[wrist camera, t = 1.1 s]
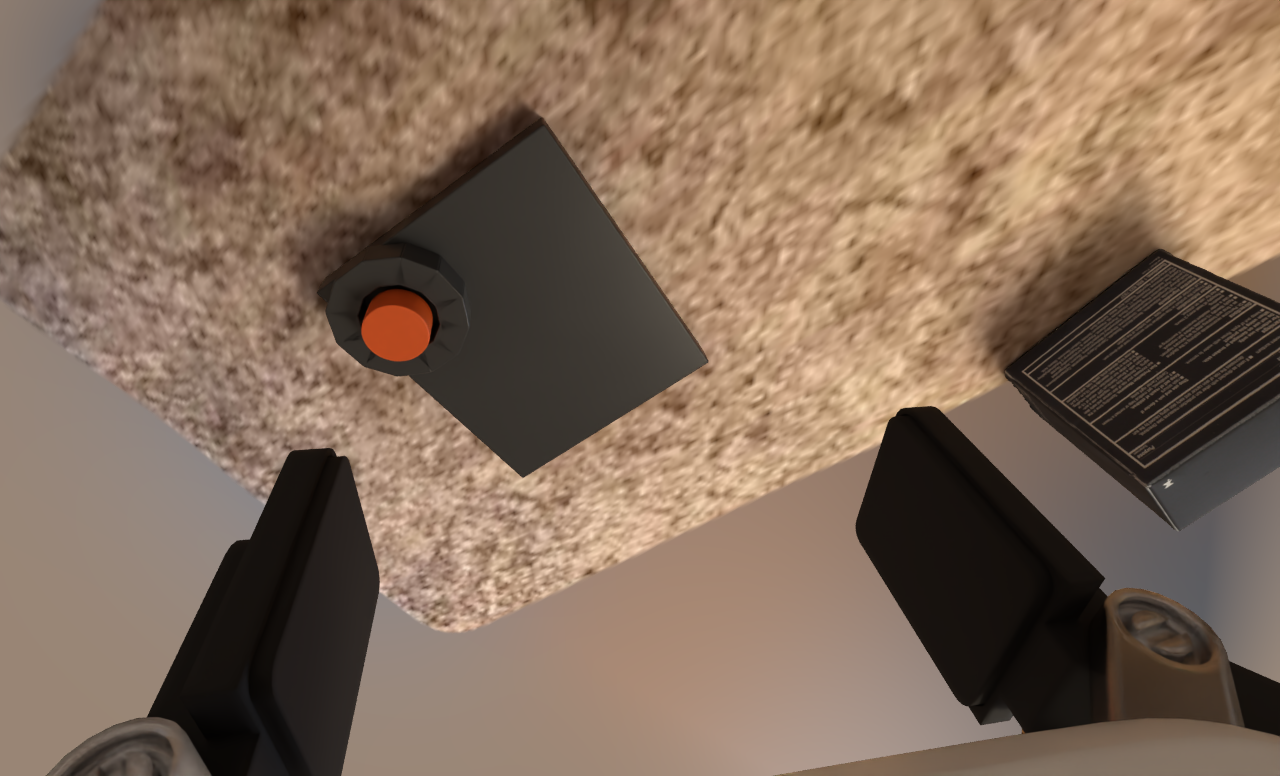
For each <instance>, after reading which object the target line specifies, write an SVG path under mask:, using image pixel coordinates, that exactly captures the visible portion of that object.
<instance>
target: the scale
mask: <svg viewBox="0 0 1280 776" xmlns="http://www.w3.org/2000/svg"><path fill="white" fill-rule="evenodd" d="M390 289H404V290H408V291H411V292H413V293H415V294H417V295H419V296H420V297H421V298H422V299H424V300H425V302H426V303H427V304H428V305H429V307H430V309H431V312H432V316H433V323H432V329H431V334H430V340H429V343H428V346H427V348H426V349H425V350H424V351H423V353H421V354H420V355H419V356H417V357H416V358H413V359H411V360H407V361H391V360H387V359H384V358H382V357H379V356H378V355H376V354H375V353H373V352H372V351H371V350H370V349H369V348H368V347H367V345H366V344H365V342H364V340H363V338H362V334H361V326H362V322H363V320H364V317H365V314H366V312H367V309H368V306H369V304H370V302H371V300H372V299H373V298H374V297H375V296H376V295H378V294H379V293H381V292H383V291H386V290H390ZM317 293H318V295H319V296H321V297H322V298H323V299H324V300H325V301H326V302H327V303H328V304H327V308H326V315H327V318H328V321H329V324H330V326H331V329H332V332H333V335H334V337H335V340H336V343H337V344H338V345H339V346H340V347H342V348H343V349H344V350H345V351H346V352H347V353H349V354H350V355H351V356H352V357H353V358H354V359H356V360H357V361H358V362H359V363H360V364H361V365H362V366H364V367H367V368H370V369H374V370H377V371H380V372H384V373H387V374H391V375H394V376H407V375H409V376H410V377H411V378H412V379H413V380H414V381H415V382H416V383H418V384H419V385H420V386H421V387H422V388H423V389H424V390H425V391H426V392H428V393H429V394H430V395H431V396H432V397H433V398H434V399H435V400H437V401H438V402H439V403H440V404H441V405H442V406H443V407H444V408H445V409H447V410H448V411H449V412H450V413H451V414H452V415H453V416H454V417H455V418H457V419H458V420H459V421H460V422H461V423H462V424H463V425H464V426H466V427H467V428H468V429H469V430H470V431H471V432H472V433H473V434H474V435H476V436H477V437H478V438H479V439H480V440H481V441H482V442H483V443H484V444H486V445H487V446H488V447H489V448H490V449H491V450H492V451H493V452H495V453H496V454H497V455H498V456H499V457H500V458H501V459H502V460H503V461H505V462H506V463H507V464H508V465H509V466H510V467H511V468H512V469H513V470H515V471H516V472H517V473H518V474H519V475H520V476H521V477H523V478H524V477H525V476H527V475H529V474H530V473H532V472H533V471H535V470H537V469H538V468H540V467H541V466H543V465H545V464H546V463H548V462H549V461H551V460H553V459H554V458H556V457H558V456H559V455H561V454H562V453H564V452H566V451H567V450H569V449H570V448H572V447H574V446H575V445H577V444H578V443H580V442H582V441H583V440H585V439H586V438H588V437H590V436H591V435H593V434H594V433H596V432H598V431H599V430H601V429H602V428H604V427H606V426H607V425H609V424H610V423H612V422H614V421H615V420H617V419H618V418H620V417H622V416H623V415H625V414H626V413H628V412H630V411H631V410H633V409H634V408H636V407H638V406H639V405H641V404H642V403H644V402H646V401H647V400H649V399H650V398H652V397H654V396H655V395H657V394H658V393H660V392H662V391H663V390H665V389H666V388H668V387H670V386H671V385H673V384H674V383H676V382H678V381H679V380H681V379H682V378H684V377H686V376H687V375H689V374H690V373H692V372H694V371H695V370H697V369H698V368H700V367H702V366H703V365H705V364H706V363H708V359H707V357H706V355H705V353H704V351H703V349H702V348H701V346H700V345H699V343H698V342H697V340H696V339H695V338H694V336H693V335H692V333H691V332H690V330H689V329H688V327H687V326H686V325H685V323H684V322H683V320H682V319H681V317H680V316H679V314H678V313H677V311H676V310H675V309H674V307H673V306H672V304H671V303H670V301H669V300H668V298H667V297H666V295H665V294H664V293H663V291H662V290H661V288H660V287H659V285H658V284H657V282H656V281H655V280H654V278H653V277H652V275H651V274H650V272H649V271H648V269H647V268H646V266H645V265H644V264H643V262H642V261H641V259H640V258H639V256H638V255H637V253H636V252H635V251H634V249H633V248H632V246H631V245H630V243H629V242H628V240H627V239H626V237H625V236H624V235H623V233H622V232H621V230H620V229H619V227H618V226H617V224H616V223H615V221H614V220H613V219H612V217H611V216H610V214H609V213H608V211H607V210H606V208H605V207H604V206H603V204H602V203H601V201H600V200H599V198H598V197H597V195H596V194H595V192H594V191H593V190H592V188H591V187H590V185H589V184H588V182H587V181H586V179H585V178H584V176H583V175H582V174H581V172H580V171H579V169H578V168H577V166H576V165H575V163H574V162H573V161H572V159H571V158H570V156H569V155H568V153H567V152H566V150H565V149H564V147H563V146H562V145H561V143H560V142H559V140H558V139H557V137H556V136H555V134H554V133H553V131H552V130H551V129H550V127H549V126H548V124H547V123H546V121H545V120H544V119H543V118H540V119H539V120H537V121H536V122H534V123H533V124H532V125H530V126H529V127H528V128H526V129H525V130H524V131H522V132H521V133H520V134H518V135H517V136H516V137H514V138H513V139H512V140H510V141H509V142H508V143H506V144H505V145H504V146H502V147H501V148H500V149H498V150H497V151H496V152H494V153H493V154H492V155H490V156H489V157H488V158H486V159H485V160H483V161H482V162H481V163H479V164H478V165H477V166H475V167H474V168H473V169H471V170H470V171H469V172H467V173H466V174H465V175H463V176H462V177H461V178H459V179H458V180H457V181H455V182H454V183H453V184H451V185H450V186H449V187H447V188H446V189H445V190H443V191H442V192H441V193H439V194H438V195H437V196H435V197H434V198H432V199H431V200H430V201H428V202H427V203H426V204H424V205H423V206H422V207H420V208H419V209H418V210H416V211H415V212H414V213H412V214H411V215H410V216H408V217H407V218H406V219H404V220H403V221H402V222H400V223H399V224H398V225H396V226H395V227H394V228H392V229H391V230H390V231H388V232H387V233H386V234H384V235H383V236H381V237H380V238H379V239H377V240H376V241H375V242H373V243H372V244H371V245H369V246H368V247H367V248H365V249H364V250H363V251H361V252H360V253H359V254H357V255H356V256H355V257H353V258H352V259H351V260H349V261H348V262H347V263H345V264H344V265H343V266H341V267H340V268H339V269H337V270H336V271H334V272H333V273H332V274H330V275H329V276H328V277H326V278H325V279H324V280H323V282H322V284H321V286H320V288H319V290H318V292H317Z"/></svg>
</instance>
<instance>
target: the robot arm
mask: <svg viewBox="0 0 1280 776" xmlns="http://www.w3.org/2000/svg"><path fill="white" fill-rule="evenodd" d="M856 534H857V537H858V539H859V542H860V543H861V545H862V547H863V548H864V550H865V551H866V553H867V555H868V556H869V558H870V560H871V561H872V563H873V564H874V566H875V568H876V569H877V571H878V573H879V574H880V576H881V577H882V579H883V581H884V582H885V584H886V585H887V587H888V589H889V590H890V592H891V594H892V595H893V597H894V598H895V600H896V602H897V603H898V605H899V607H900V608H901V610H902V611H903V613H904V614H905V616H906V618H907V619H908V621H909V623H910V624H911V626H912V628H913V629H914V631H915V632H916V634H917V636H918V637H919V639H920V640H921V642H922V644H923V645H924V647H925V649H926V650H927V652H928V653H929V655H930V657H931V658H932V660H933V662H934V663H935V665H936V666H937V668H938V670H939V671H940V673H941V675H942V676H943V678H944V679H945V681H946V683H947V684H948V686H949V688H950V689H951V691H952V692H953V694H954V696H955V697H956V698H957V700H958V701H959V702H960V703H961V704H963V705H965V706H969V708H970V710H971V711H972V713H973V714H974V716H975V717H976V719H977V721H978V722H979V724H980V725H984V724H991V723H996V722H1003V721H1009V720H1010V719H1011V718H1012V716H1014V717H1015V718H1016V720H1017V721H1018V723H1019V724H1020V726H1021V727H1022V734H1019V735H1013V736H1006V737H1000V738H994V739H989V740H982V741H976V742H970V743H964V744H958V745H952V746H946V747H941V748H935V749H928V750H923V751H916V752H911V753H904V754H898V755H892V756H887V757H880V758H874V759H868V760H862V761H856V762H851V763H845V764H839V765H833V766H827V767H822V768H816V769H810V770H804V771H798V772H793V773H786V774H780V775H775V776H1280V683H1278V682H1276V681H1273V680H1271V679H1269V678H1267V677H1264V676H1262V675H1260V674H1257V673H1255V672H1253V671H1251V670H1248V669H1246V668H1244V667H1241V666H1239V665H1237V664H1235V663H1232V662H1230V661H1229V660H1228V656H1227V652H1226V650H1225V648H1224V646H1223V644H1222V641H1221V639H1220V638H1219V637H1218V636H1217V635H1216V633H1215V632H1214V631H1213V630H1212V628H1211V627H1210V626H1209V625H1208V624H1207V623H1205V622H1204V621H1203V620H1202V619H1201V618H1200V617H1198V616H1197V615H1196V614H1195V613H1194V612H1192V611H1190V610H1189V609H1187V608H1186V607H1184V606H1182V605H1181V604H1179V603H1178V602H1176V601H1174V600H1171V599H1169V598H1167V597H1164V596H1163V595H1160V594H1158V593H1154V592H1150V591H1147V590H1143V589H1135V588H1124V589H1120V590H1115V591H1114V592H1113V593H1112V594H1111V595H1110V596H1108V597H1107V595H1106V594H1105V593H1104V592H1103V591H1102V590H1101V589H1100V588H1099V587H1100V585H1101V584H1102V582H1103V581H1104V579H1105V578H1104V577H1103V576H1102V575H1101V574H1100V573H1099V571H1098V570H1096V568H1095V567H1094V566H1093V565H1092V564H1090V562H1089V561H1088V560H1087V559H1086V558H1085V557H1084V556H1083V555H1082V554H1081V553H1080V552H1079V551H1078V550H1077V549H1076V548H1075V547H1074V546H1073V545H1072V544H1071V543H1070V542H1069V541H1068V540H1067V539H1066V538H1065V537H1064V536H1063V535H1062V534H1061V533H1060V532H1059V531H1058V530H1057V529H1056V528H1055V527H1054V526H1053V525H1052V524H1051V523H1050V522H1049V521H1048V520H1047V519H1046V518H1045V517H1044V516H1043V515H1042V514H1041V513H1040V512H1039V511H1038V510H1037V508H1036V507H1035V506H1033V504H1032V503H1030V501H1029V500H1028V499H1027V498H1026V497H1025V496H1024V495H1023V494H1022V493H1021V492H1020V491H1019V490H1018V489H1017V488H1016V487H1015V486H1014V485H1013V484H1012V483H1011V482H1010V481H1009V480H1008V479H1007V478H1006V477H1005V476H1004V475H1003V474H1002V473H1001V472H1000V471H999V470H998V469H997V468H996V467H995V466H994V465H993V464H992V463H991V462H990V461H989V460H988V459H987V458H986V457H985V456H984V455H983V454H982V453H981V452H980V451H979V450H978V449H977V448H976V446H975V445H974V444H973V443H971V441H970V440H969V439H968V438H967V437H966V436H965V435H964V434H963V433H962V432H961V431H960V430H959V429H958V428H957V427H956V426H955V425H954V424H953V423H952V422H951V421H950V420H949V419H948V418H947V417H946V416H945V415H944V414H943V413H942V412H941V411H940V410H939V409H937V408H936V407H932V406H927V407H912V408H903V409H901V410H899V411H898V412H897V414H896V416H895V417H892V418H891V419H890V420H889V422H888V424H887V427H886V431H885V434H884V437H883V440H882V443H881V447H880V449H879V452H878V456H877V458H876V461H875V465H874V468H873V471H872V474H871V477H870V480H869V483H868V486H867V489H866V492H865V496H864V498H863V502H862V505H861V508H860V511H859V514H858V517H857V520H856ZM379 584H380V581H379V570H378V566H377V563H376V559H375V555H374V551H373V548H372V544H371V540H370V537H369V533H368V529H367V525H366V522H365V518H364V514H363V511H362V507H361V503H360V499H359V496H358V492H357V488H356V485H355V481H354V477H353V473H352V470H351V466H350V463H349V460H348V458H347V457H346V456H340V457H337V456H336V453H335V452H334V450H333V449H331V448H323V449H308V450H294V451H292V452H290V453H289V455H288V457H287V459H286V461H285V463H284V465H283V468H282V470H281V472H280V474H279V476H278V479H277V481H276V483H275V485H274V487H273V490H272V492H271V494H270V496H269V499H268V501H267V503H266V505H265V507H264V510H263V512H262V514H261V516H260V518H259V521H258V523H257V525H256V527H255V530H254V532H253V534H252V536H251V538H250V540H239V541H236V542H235V543H234V544H232V545H231V546H230V548H229V549H228V551H227V553H226V554H225V556H224V558H223V560H222V562H221V565H220V566H219V569H218V571H217V573H216V575H215V577H214V579H213V581H212V583H211V585H210V587H209V589H208V591H207V593H206V596H205V598H204V600H203V602H202V604H201V606H200V608H199V610H198V612H197V614H196V617H195V618H194V621H193V623H192V625H191V627H190V629H189V631H188V633H187V635H186V637H185V639H184V641H183V643H182V645H181V647H180V649H179V652H178V654H177V656H176V658H175V660H174V662H173V664H172V666H171V668H170V670H169V672H168V674H167V676H166V678H165V681H164V683H163V685H162V687H161V689H160V691H159V693H158V695H157V697H156V699H155V701H154V703H153V705H152V708H151V710H150V712H149V714H148V716H147V718H136V719H133V720H129V721H126V722H123V723H119V724H116V725H113V726H111V727H110V728H107V729H105V730H104V731H102V732H100V733H98V734H96V735H94V736H92V737H90V738H88V739H87V740H86V741H84V742H83V743H82V744H80V745H79V746H78V747H76V748H75V749H74V750H72V751H71V752H70V753H68V754H67V755H65V756H64V757H63V758H62V759H61V761H60V762H59V763H58V764H57V765H56V766H55V767H54V768H53V769H52V770H51V771H50V772H49V773H48V774H47V775H46V776H341V773H342V769H343V764H344V759H345V754H346V749H347V744H348V739H349V735H350V730H351V725H352V720H353V715H354V710H355V705H356V701H357V696H358V691H359V686H360V681H361V676H362V672H363V667H364V662H365V657H366V652H367V647H368V642H369V638H370V633H371V628H372V623H373V618H374V613H375V608H376V603H377V599H378V594H379Z"/></svg>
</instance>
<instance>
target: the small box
mask: <svg viewBox="0 0 1280 776" xmlns="http://www.w3.org/2000/svg"><path fill="white" fill-rule="evenodd" d="M1005 377H1006V378H1007V379H1008V380H1009V381H1011V382H1012V384H1013V386H1014V387H1016V388H1017V389H1018V391H1019V392H1020V394H1022V395H1023V397H1024V398H1025V400H1026V401H1027V402H1028V403H1029V404H1030V407H1031V408H1032V410H1034V412H1036V413H1037V414H1038V415H1039V416H1040V417H1041V418H1042V419H1043V420H1045V421H1046V422H1047V423H1049V424H1050V425H1051V426H1052V427H1053V428H1055V429H1056V431H1058V432H1059V433H1060V434H1062V435H1063V436H1064V437H1065V438H1067V439H1068V440H1069V441H1070V442H1071V443H1073V444H1074V445H1075V446H1076V447H1077V448H1078V449H1080V450H1081V451H1082V452H1084V454H1086V455H1087V456H1088V457H1089V458H1090V459H1092V460H1093V461H1094V462H1095V463H1097V464H1098V465H1099V466H1100V467H1101V468H1102V469H1103V470H1105V471H1106V472H1107V473H1108V474H1109V475H1111V476H1112V477H1113V478H1114V479H1115V480H1117V481H1118V482H1119V483H1120V484H1121V485H1122V486H1124V487H1125V488H1126V489H1127V490H1129V491H1130V492H1131V493H1132V494H1133V495H1134V496H1136V497H1137V498H1138V499H1139V500H1140V501H1142V502H1143V503H1144V504H1145V505H1147V506H1148V507H1149V508H1150V509H1151V510H1153V511H1154V512H1155V513H1156V514H1157V515H1158V516H1159V517H1161V518H1162V519H1163V520H1164V521H1166V522H1167V523H1168V524H1169V525H1170V526H1171V527H1172V528H1173V529H1174V530H1176V531H1181V530H1182V529H1184V528H1185V527H1187V526H1188V525H1190V524H1191V523H1193V522H1194V521H1196V520H1197V519H1199V518H1201V517H1202V516H1204V515H1205V514H1207V513H1209V512H1210V511H1212V510H1213V509H1215V508H1216V507H1218V506H1219V505H1221V504H1223V503H1224V502H1226V501H1227V500H1229V499H1230V498H1232V497H1234V496H1235V495H1237V494H1238V493H1240V492H1241V491H1243V490H1244V489H1246V488H1247V487H1249V486H1251V485H1252V484H1254V483H1255V482H1257V481H1258V480H1260V479H1262V478H1263V477H1265V476H1266V475H1268V474H1269V473H1271V472H1272V471H1274V470H1275V469H1277V468H1279V467H1280V303H1278V302H1276V301H1274V300H1272V299H1270V298H1267V297H1265V296H1263V295H1260V294H1258V293H1255V292H1253V291H1251V290H1249V289H1247V288H1245V287H1242V286H1240V285H1238V284H1235V283H1233V282H1230V281H1229V280H1227V279H1224V278H1222V277H1219V276H1217V275H1215V274H1213V273H1211V272H1209V271H1207V270H1205V269H1202V268H1200V267H1197V266H1195V265H1192V264H1190V263H1189V262H1186V261H1184V260H1182V259H1179V258H1177V257H1175V256H1173V255H1172V254H1171V253H1169V252H1167V251H1165V250H1163V249H1159V250H1157V251H1156V252H1154V253H1153V254H1151V255H1150V256H1149V257H1148V258H1146V259H1145V260H1144V261H1143V262H1142V263H1140V264H1139V265H1137V266H1136V267H1135V268H1134V269H1132V270H1131V271H1130V272H1129V273H1127V274H1126V275H1125V276H1124V277H1122V278H1121V279H1120V280H1119V281H1117V282H1116V283H1115V284H1114V285H1112V286H1111V287H1110V288H1108V289H1107V290H1106V291H1105V292H1103V293H1102V294H1101V295H1099V296H1098V297H1097V298H1096V299H1095V300H1093V301H1092V302H1091V303H1089V304H1088V305H1087V306H1086V307H1084V308H1083V309H1082V310H1081V311H1079V312H1078V313H1077V314H1075V315H1074V316H1073V317H1072V318H1070V319H1069V320H1068V321H1067V322H1065V323H1064V324H1063V325H1062V326H1060V327H1059V328H1058V329H1056V330H1055V331H1054V332H1053V333H1051V334H1050V335H1049V336H1048V337H1046V338H1045V339H1044V340H1043V341H1041V342H1040V343H1039V344H1037V345H1036V346H1035V347H1034V348H1032V349H1031V350H1030V351H1029V352H1027V353H1026V354H1025V355H1023V356H1022V357H1021V358H1020V359H1018V360H1017V361H1016V362H1015V363H1013V364H1012V365H1011V366H1010V367H1008V368H1007V369H1006V370H1005Z"/></svg>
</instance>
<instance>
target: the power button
mask: <svg viewBox="0 0 1280 776" xmlns="http://www.w3.org/2000/svg"><path fill="white" fill-rule="evenodd" d="M432 323H433V316H432V312H431V309H430V307H429V305H428V304H427V303H426V302H425V300H424V299H422V298H421V297H420V296H419V295H417V294H415V293H413V292H411V291H408V290H404V289H390V290H386V291H383V292H381V293H379V294H378V295H376V296H375V297H374V298H373V299H372V300H371V302H370V304H369V306H368V309H367V312H366V314H365V317H364V320H363V322H362V326H361V334H362V338H363V340H364V342H365V344H366V345H367V347H368V348H369V349H370V350H371V351H372V352H373V353H375V354H376V355H378V356H379V357H382V358H384V359H387V360H391V361H407V360H411V359H413V358H416V357H417V356H419V355H420V354H421V353H423V351H424V350H425V349H426V348H427V346H428V343H429V340H430V334H431V329H432Z"/></svg>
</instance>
